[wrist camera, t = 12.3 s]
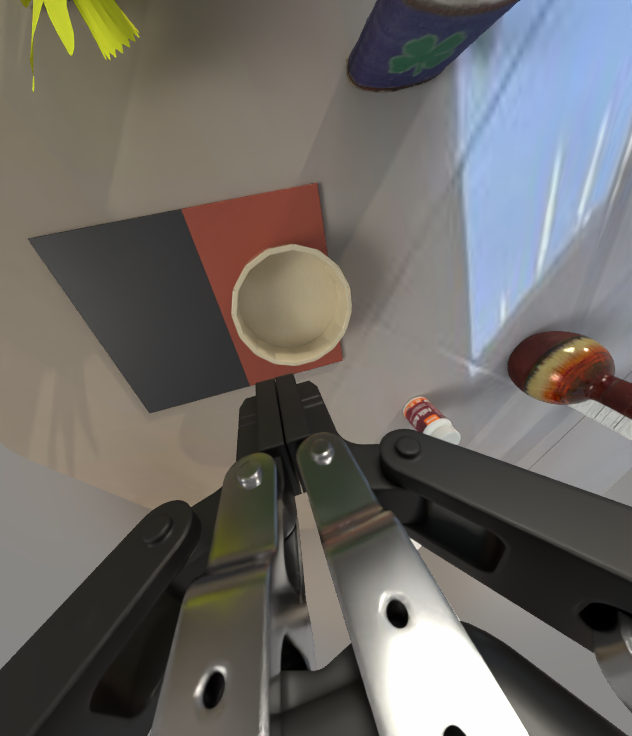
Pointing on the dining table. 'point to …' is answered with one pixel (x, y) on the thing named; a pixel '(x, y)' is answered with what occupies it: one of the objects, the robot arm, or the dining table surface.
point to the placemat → (181, 290)
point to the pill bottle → (430, 420)
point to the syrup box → (605, 417)
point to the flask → (417, 40)
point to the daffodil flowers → (98, 15)
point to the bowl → (291, 304)
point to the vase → (568, 371)
